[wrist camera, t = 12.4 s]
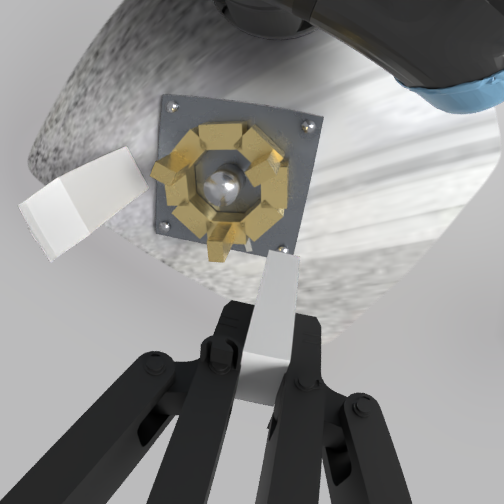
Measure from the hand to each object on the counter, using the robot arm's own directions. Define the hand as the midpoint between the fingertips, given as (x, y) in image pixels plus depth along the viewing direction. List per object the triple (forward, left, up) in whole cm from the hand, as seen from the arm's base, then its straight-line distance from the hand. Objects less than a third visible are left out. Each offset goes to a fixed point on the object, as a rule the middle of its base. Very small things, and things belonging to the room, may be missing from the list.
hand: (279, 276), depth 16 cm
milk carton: (+6, -24, -27) cm, 37 cm away
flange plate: (+4, -8, -26) cm, 28 cm away
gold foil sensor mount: (+4, -8, -25) cm, 27 cm away
